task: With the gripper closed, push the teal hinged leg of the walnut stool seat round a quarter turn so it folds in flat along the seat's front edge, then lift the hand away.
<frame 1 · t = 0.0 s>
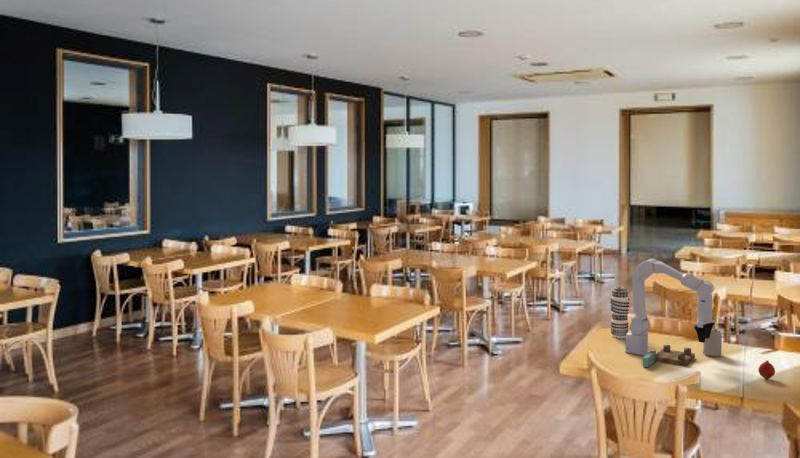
hand: (704, 340, 290), 10 cm above the table, tool pointing down, fingers open, 7 cm apart
can: (712, 355, 302), on the table
stool seat: (673, 359, 297), on the table
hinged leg: (649, 358, 290), point 2 cm above the table, hinge at -90.0°
onion: (766, 380, 267), on the table
grey patterned cylinder piece: (619, 336, 337), on the table
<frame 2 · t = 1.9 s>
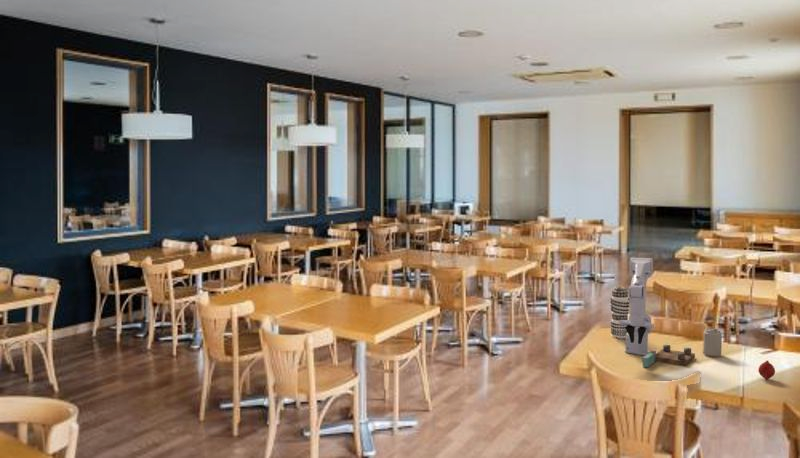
hand: (636, 342, 291), 9 cm above the table, tool pointing down, fingers open, 3 cm apart
nothing on the table moved.
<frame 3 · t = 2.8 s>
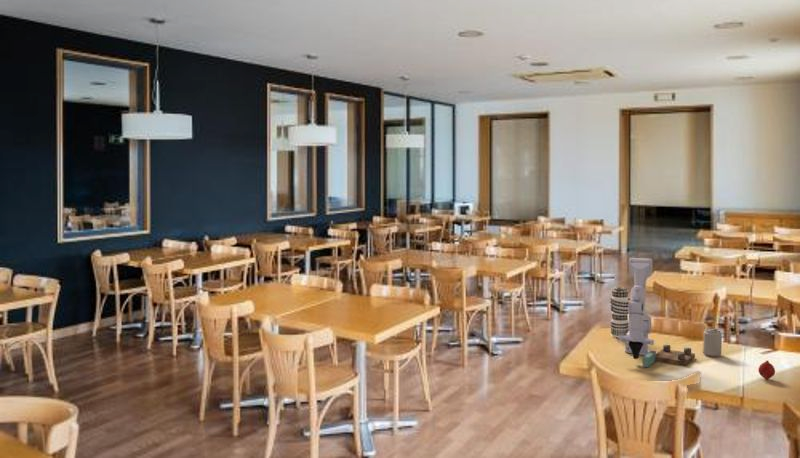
hand: (635, 358, 292), 2 cm above the table, tool pointing down, fingers closed
nothing on the table moved.
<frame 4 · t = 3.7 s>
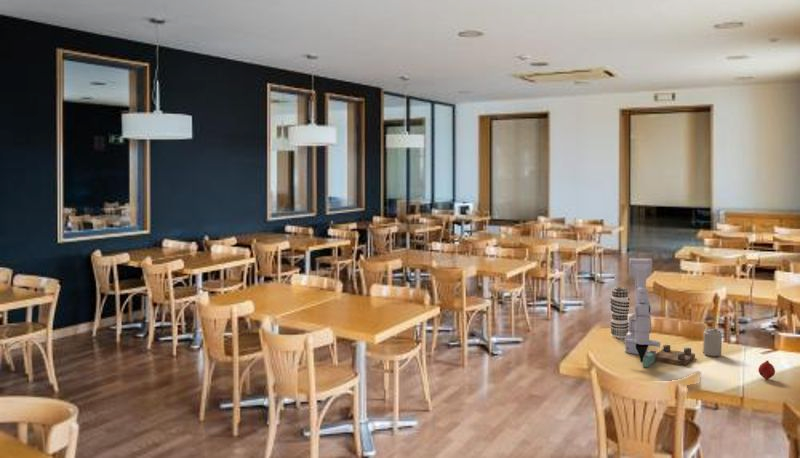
hand: (642, 361, 290), 2 cm above the table, tool pointing down, fingers closed, pressing on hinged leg
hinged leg: (649, 358, 290), point 2 cm above the table, hinge at -90.0°, touching gripper
everything else where it was.
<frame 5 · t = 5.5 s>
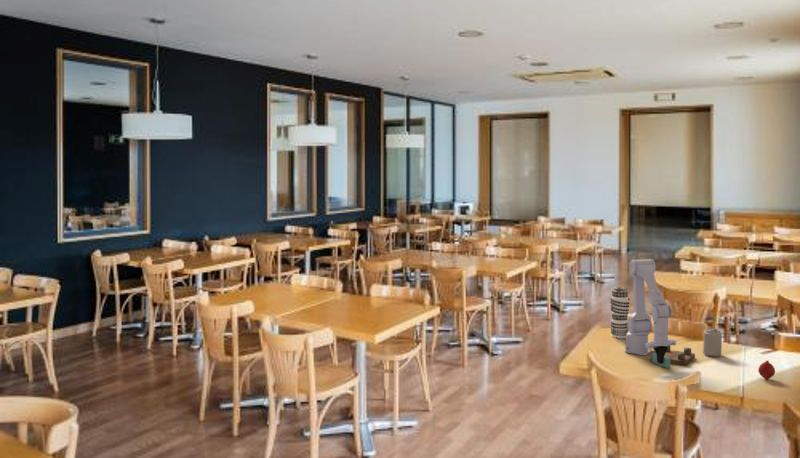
hand: (660, 362, 287), 2 cm above the table, tool pointing down, fingers closed, pressing on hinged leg
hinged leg: (659, 359, 290), point 2 cm above the table, hinge at -33.4°, touching gripper
everything else where it was.
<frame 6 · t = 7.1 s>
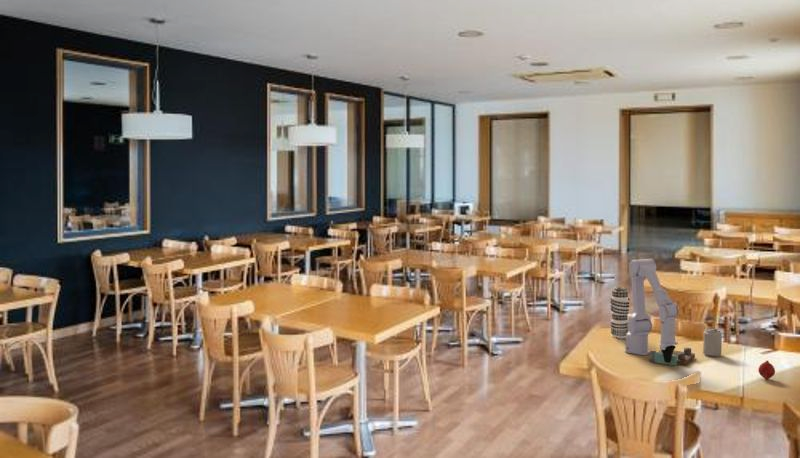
hand: (667, 362, 288), 2 cm above the table, tool pointing down, fingers closed
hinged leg: (663, 358, 291), point 2 cm above the table, hinge at -0.6°, touching gripper
everything else where it was.
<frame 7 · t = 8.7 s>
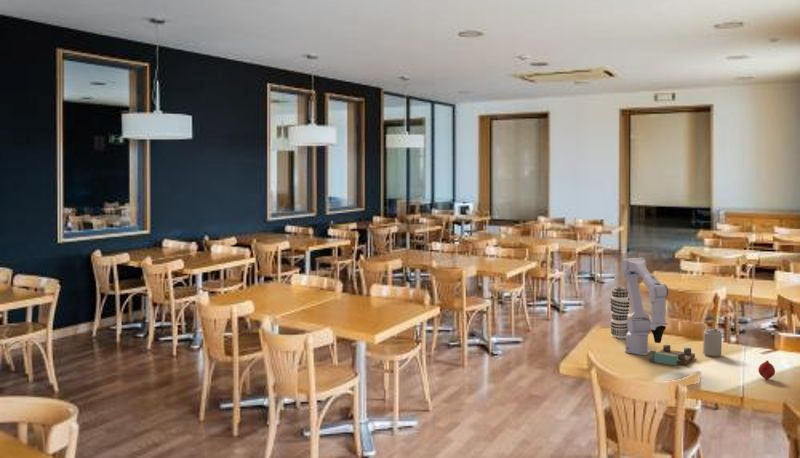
hand: (657, 342, 290), 9 cm above the table, tool pointing down, fingers closed
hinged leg: (663, 358, 291), point 2 cm above the table, hinge at -0.3°
everything else where it was.
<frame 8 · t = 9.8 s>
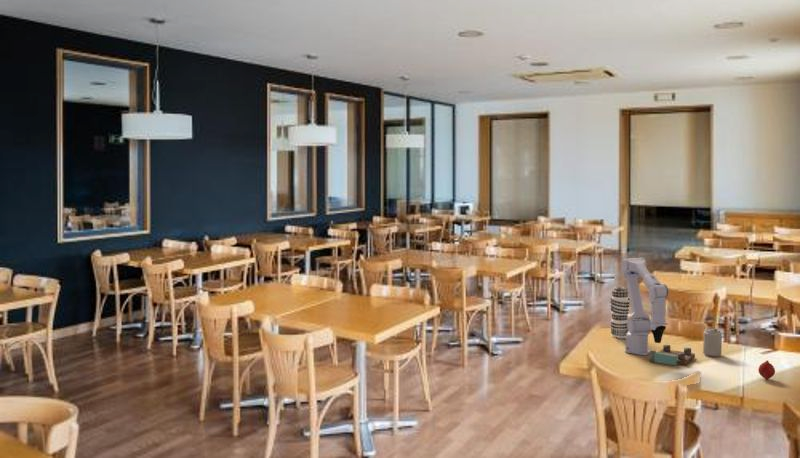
hand: (657, 342, 290), 9 cm above the table, tool pointing down, fingers closed
nothing on the table moved.
at the end: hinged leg at +0° (first picture: -90°); can moved 0.2 cm from its start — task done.
